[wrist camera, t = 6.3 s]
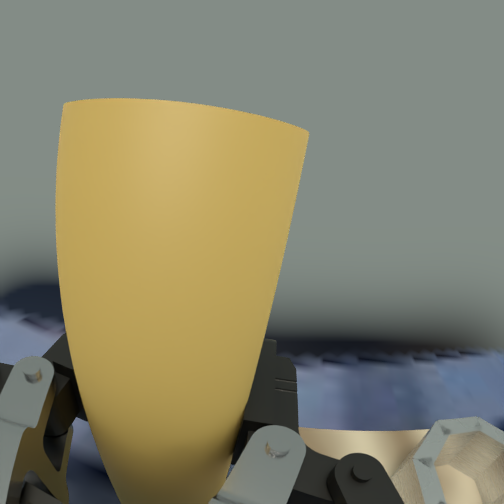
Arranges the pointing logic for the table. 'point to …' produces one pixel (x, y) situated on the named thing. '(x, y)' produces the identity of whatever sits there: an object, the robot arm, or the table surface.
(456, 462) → the steel ring collar
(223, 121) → the ochre steel pin
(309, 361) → the table surface
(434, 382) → the table surface
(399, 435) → the birch board
